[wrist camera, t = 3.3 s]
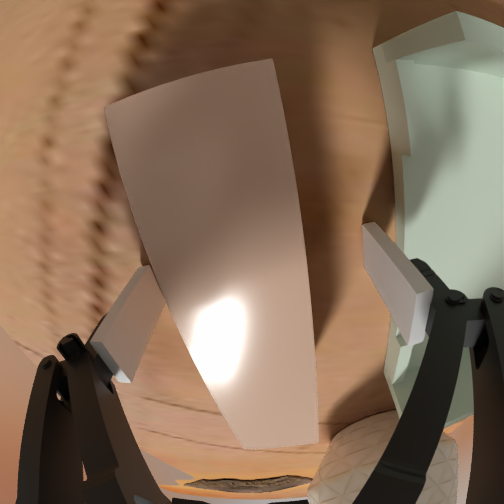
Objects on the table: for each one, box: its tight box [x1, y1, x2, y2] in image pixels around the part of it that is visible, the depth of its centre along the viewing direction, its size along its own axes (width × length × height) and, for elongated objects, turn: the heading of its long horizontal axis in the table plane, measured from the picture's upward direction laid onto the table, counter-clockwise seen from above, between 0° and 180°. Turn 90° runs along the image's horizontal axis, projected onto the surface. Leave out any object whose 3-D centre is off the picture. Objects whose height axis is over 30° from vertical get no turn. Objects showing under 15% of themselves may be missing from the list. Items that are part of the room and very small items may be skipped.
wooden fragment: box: [184, 476, 313, 493], centre depth 37 cm, size 26×11×1 cm, turn 107°
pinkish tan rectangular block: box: [104, 58, 319, 449], centre depth 13 cm, size 18×4×7 cm, turn 11°
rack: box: [372, 11, 504, 428], centre depth 11 cm, size 23×12×7 cm, turn 13°
